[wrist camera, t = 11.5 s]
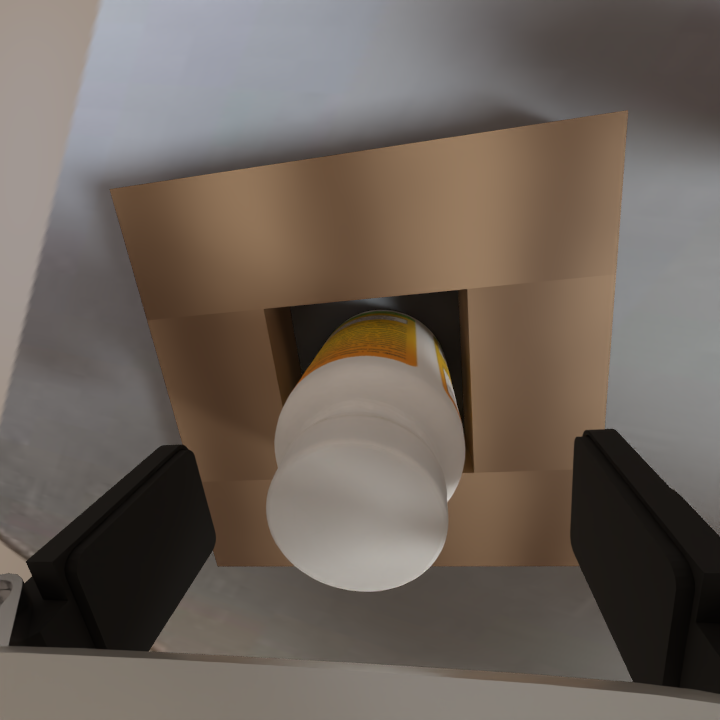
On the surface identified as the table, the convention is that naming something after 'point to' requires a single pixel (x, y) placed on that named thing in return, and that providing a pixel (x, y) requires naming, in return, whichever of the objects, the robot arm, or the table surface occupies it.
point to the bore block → (394, 278)
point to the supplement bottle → (368, 456)
